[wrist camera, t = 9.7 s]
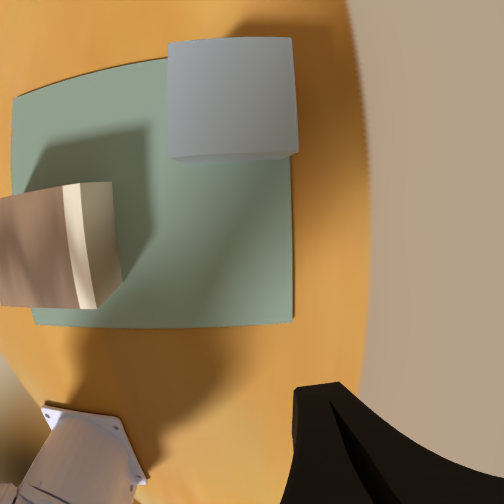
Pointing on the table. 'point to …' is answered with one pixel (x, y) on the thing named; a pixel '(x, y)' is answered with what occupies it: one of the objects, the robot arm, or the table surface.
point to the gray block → (231, 100)
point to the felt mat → (160, 206)
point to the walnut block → (59, 247)
